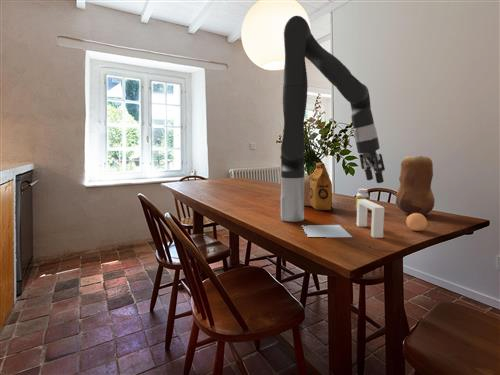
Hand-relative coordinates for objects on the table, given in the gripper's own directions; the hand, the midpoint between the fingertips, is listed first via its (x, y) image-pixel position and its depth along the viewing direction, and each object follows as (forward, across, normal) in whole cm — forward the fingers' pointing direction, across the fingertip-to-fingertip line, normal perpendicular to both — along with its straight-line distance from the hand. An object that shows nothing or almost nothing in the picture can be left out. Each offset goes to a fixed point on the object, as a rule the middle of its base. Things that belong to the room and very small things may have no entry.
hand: (375, 181), depth 102 cm
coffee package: (+13, -29, -17) cm, 36 cm away
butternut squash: (+21, -12, +18) cm, 30 cm away
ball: (+15, +11, +7) cm, 19 cm away
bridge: (+14, +10, -10) cm, 20 cm away
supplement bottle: (+17, -22, 0) cm, 28 cm away
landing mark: (+10, +10, -24) cm, 28 cm away
